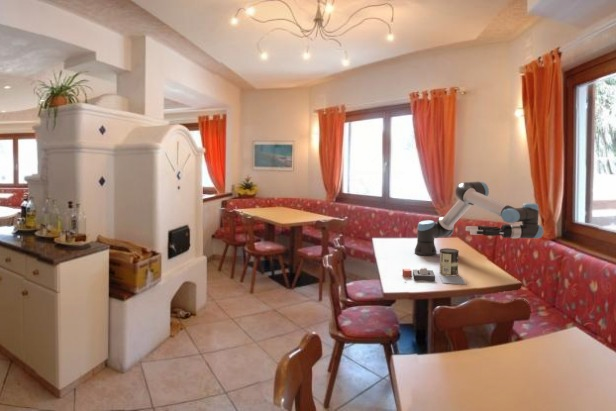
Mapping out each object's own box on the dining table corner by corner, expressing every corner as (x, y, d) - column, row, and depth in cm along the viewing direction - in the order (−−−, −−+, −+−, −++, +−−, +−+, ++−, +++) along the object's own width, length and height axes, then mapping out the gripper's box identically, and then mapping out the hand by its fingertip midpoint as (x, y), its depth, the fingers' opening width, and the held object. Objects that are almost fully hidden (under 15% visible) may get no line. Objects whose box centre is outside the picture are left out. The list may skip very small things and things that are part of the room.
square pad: (439, 276, 203) (439, 275, 203) (461, 277, 201) (461, 276, 201) (442, 283, 192) (442, 282, 192) (466, 284, 189) (466, 283, 189)
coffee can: (456, 271, 212) (456, 248, 211) (459, 276, 202) (460, 252, 201) (437, 270, 214) (438, 247, 213) (440, 275, 204) (441, 252, 203)
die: (402, 275, 207) (402, 268, 206) (409, 275, 207) (409, 268, 206) (404, 277, 203) (404, 270, 202) (411, 277, 203) (411, 270, 202)
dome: (418, 273, 204) (418, 266, 204) (427, 274, 203) (428, 266, 203) (419, 276, 199) (419, 268, 199) (428, 277, 198) (429, 269, 198)
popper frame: (412, 274, 208) (412, 269, 208) (432, 275, 206) (432, 270, 205) (414, 280, 197) (414, 275, 197) (435, 281, 195) (435, 276, 195)
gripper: (517, 242, 188) (472, 240, 193) (503, 233, 210) (463, 233, 215) (518, 228, 187) (472, 227, 192) (503, 221, 209) (463, 220, 214)
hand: (467, 230), depth 203 cm, fingers open, 10 cm apart
